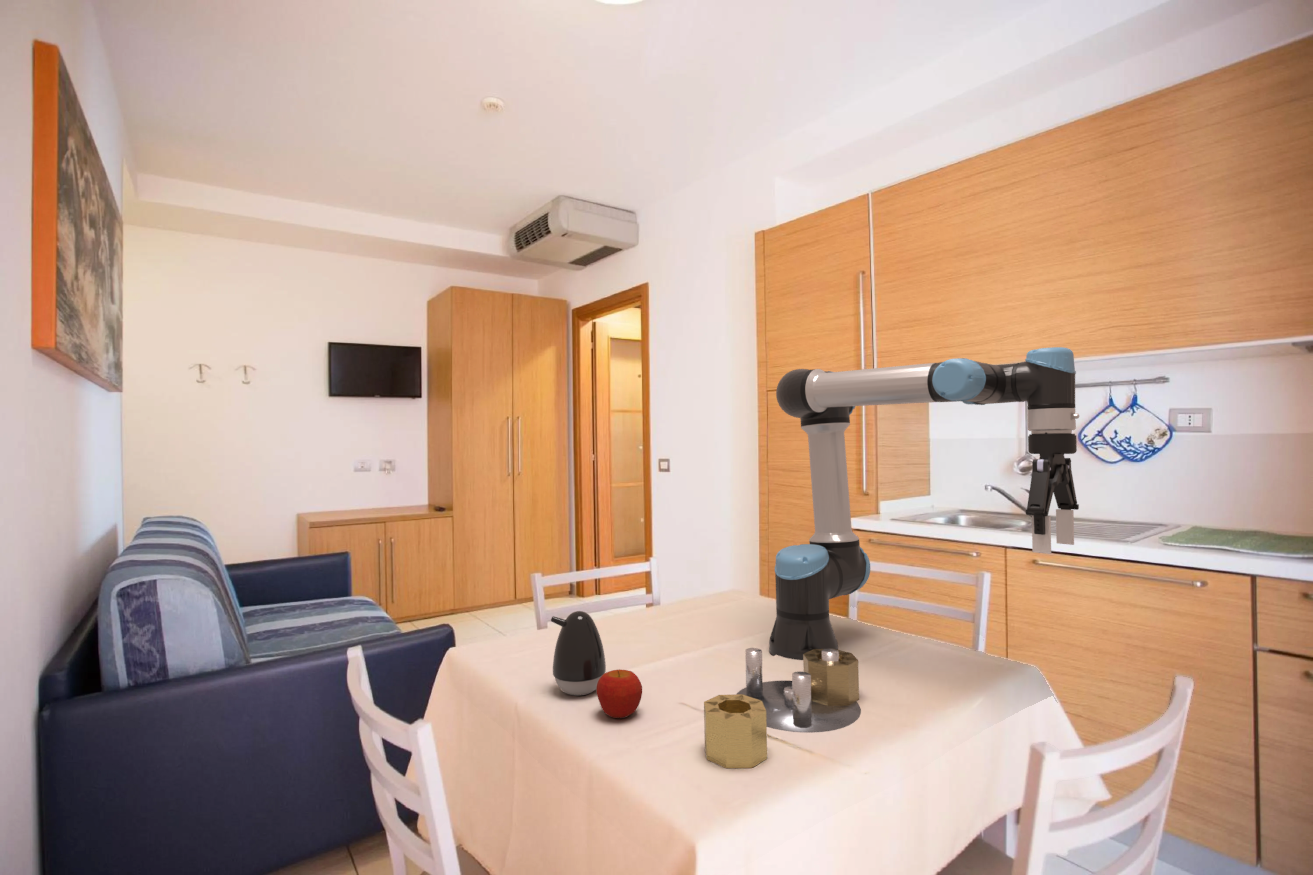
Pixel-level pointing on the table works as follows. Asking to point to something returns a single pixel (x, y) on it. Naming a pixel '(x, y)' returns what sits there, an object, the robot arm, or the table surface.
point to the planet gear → (735, 731)
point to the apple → (619, 693)
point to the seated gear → (832, 678)
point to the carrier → (795, 699)
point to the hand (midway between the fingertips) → (1054, 548)
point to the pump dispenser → (578, 654)
